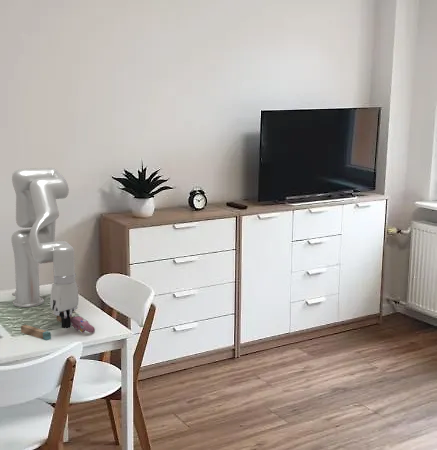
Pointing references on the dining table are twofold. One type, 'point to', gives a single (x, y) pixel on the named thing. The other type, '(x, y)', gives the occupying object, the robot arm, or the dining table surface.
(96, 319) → the dining table surface
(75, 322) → the video game controller
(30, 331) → the channel
